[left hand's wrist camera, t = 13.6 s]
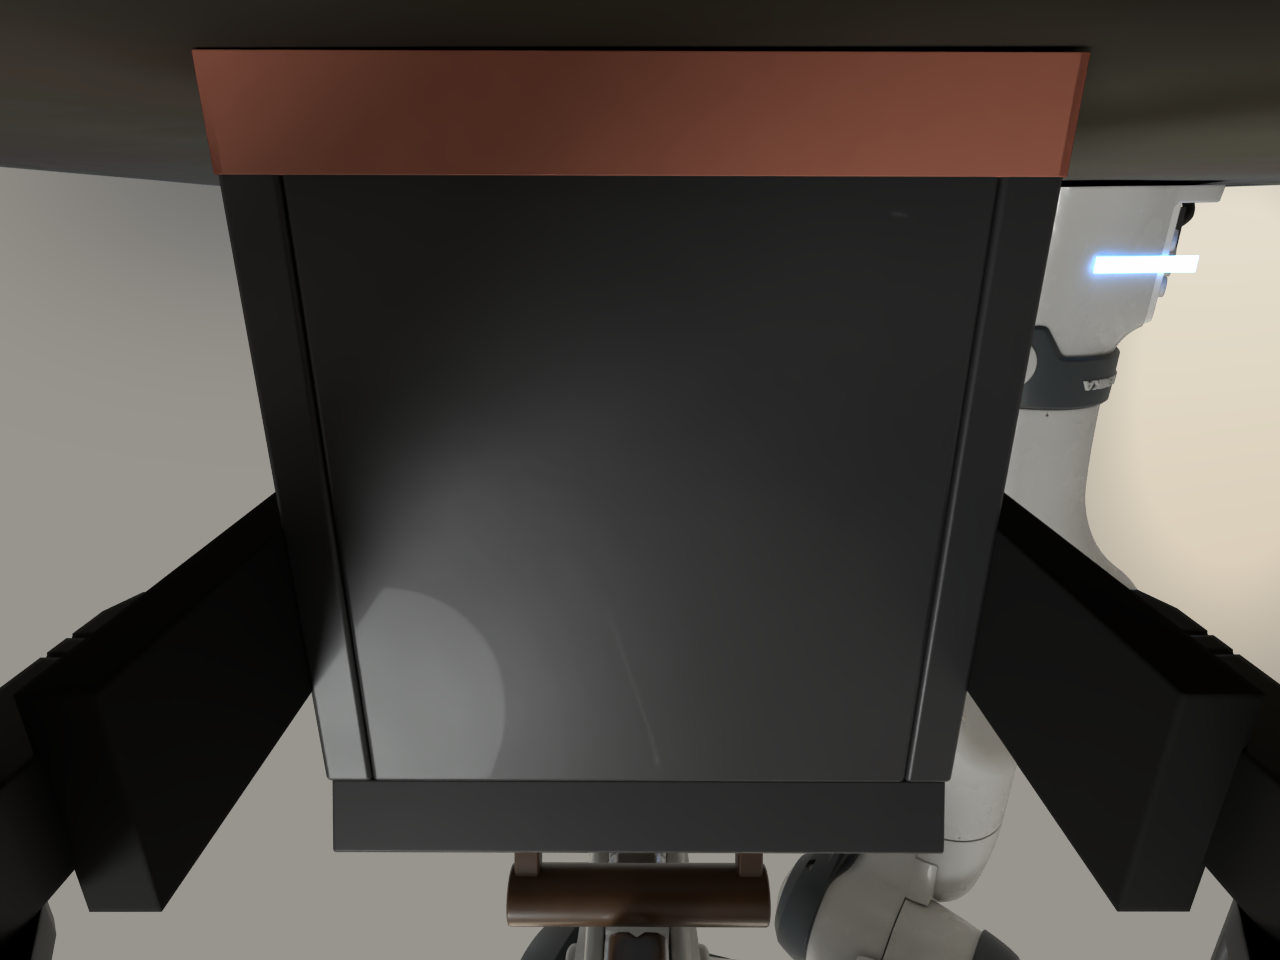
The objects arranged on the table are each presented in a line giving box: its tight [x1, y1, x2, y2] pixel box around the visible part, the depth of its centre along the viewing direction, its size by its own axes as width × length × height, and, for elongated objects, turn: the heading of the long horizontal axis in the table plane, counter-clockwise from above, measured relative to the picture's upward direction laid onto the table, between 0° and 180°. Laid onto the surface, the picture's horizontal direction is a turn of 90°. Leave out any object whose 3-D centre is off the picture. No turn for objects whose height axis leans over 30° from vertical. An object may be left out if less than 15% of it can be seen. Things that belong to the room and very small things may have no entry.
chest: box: [192, 49, 1090, 782], centre depth 15 cm, size 11×10×10 cm
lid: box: [333, 775, 945, 927], centre depth 18 cm, size 12×10×8 cm
